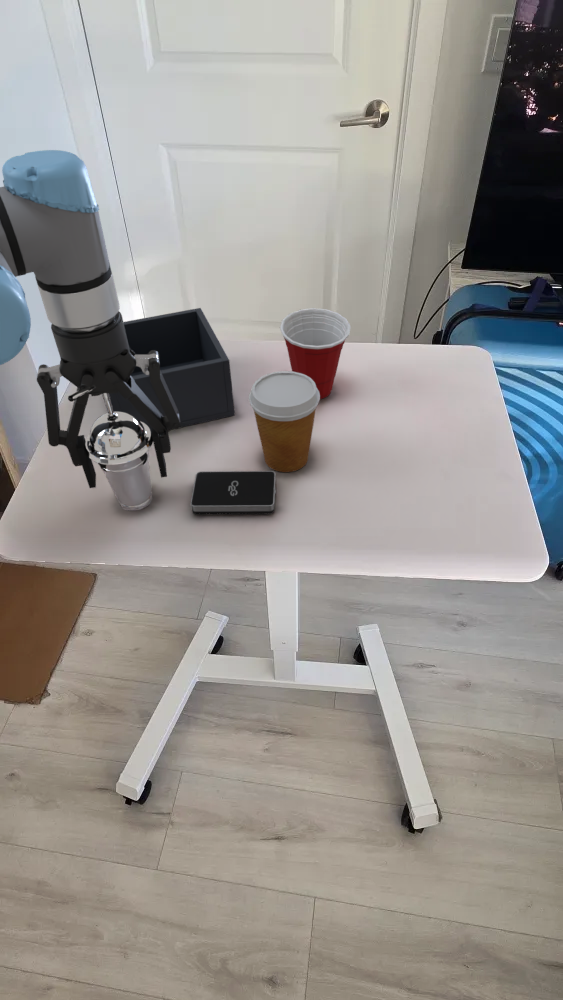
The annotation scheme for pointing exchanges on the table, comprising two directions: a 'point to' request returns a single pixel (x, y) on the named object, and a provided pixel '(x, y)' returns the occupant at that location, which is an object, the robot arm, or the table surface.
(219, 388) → the bin
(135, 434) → the cup with straw
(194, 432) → the table surface
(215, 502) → the external hard drive
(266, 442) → the disposable coffee cup
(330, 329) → the plastic cup
